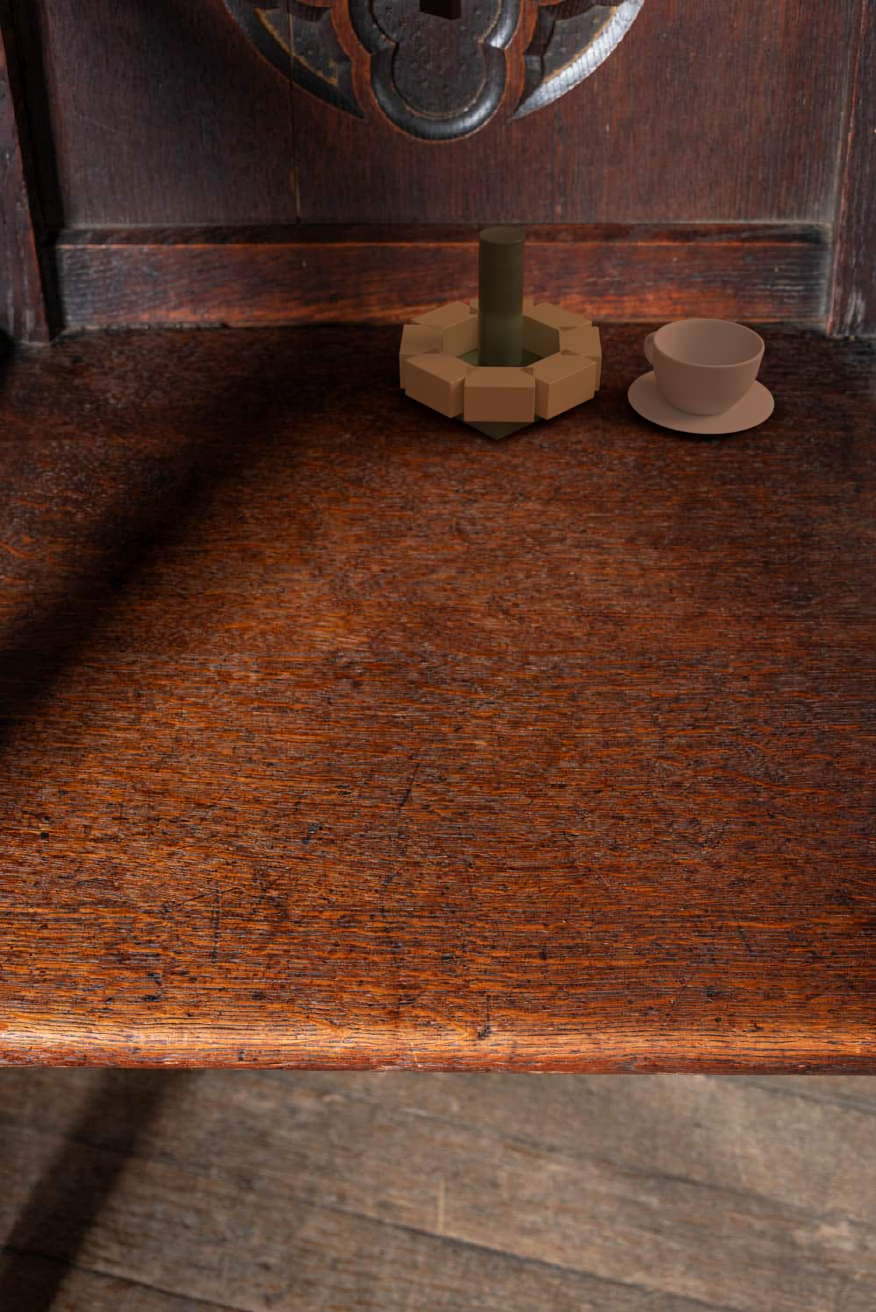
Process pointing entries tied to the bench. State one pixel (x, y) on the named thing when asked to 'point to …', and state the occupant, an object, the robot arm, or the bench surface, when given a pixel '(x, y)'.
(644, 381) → the teacup
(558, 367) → the ring of blocks
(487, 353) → the stand
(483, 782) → the bench surface
